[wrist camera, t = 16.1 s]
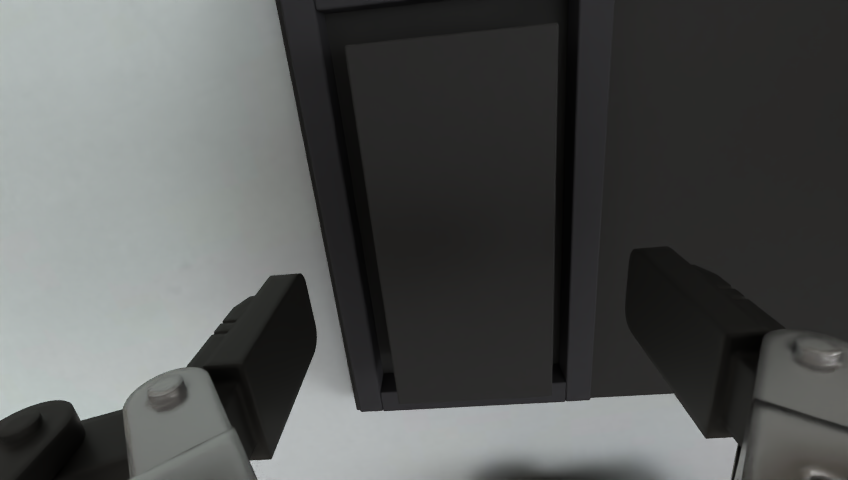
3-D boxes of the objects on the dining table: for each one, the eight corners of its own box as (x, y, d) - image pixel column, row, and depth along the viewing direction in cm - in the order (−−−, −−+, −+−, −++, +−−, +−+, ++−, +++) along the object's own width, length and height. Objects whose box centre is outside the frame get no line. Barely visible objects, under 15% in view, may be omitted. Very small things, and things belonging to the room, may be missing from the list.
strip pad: (362, 46, 14) (343, 45, 11) (535, 28, 14) (559, 22, 11) (404, 353, 19) (398, 405, 16) (535, 345, 18) (552, 397, 16)
